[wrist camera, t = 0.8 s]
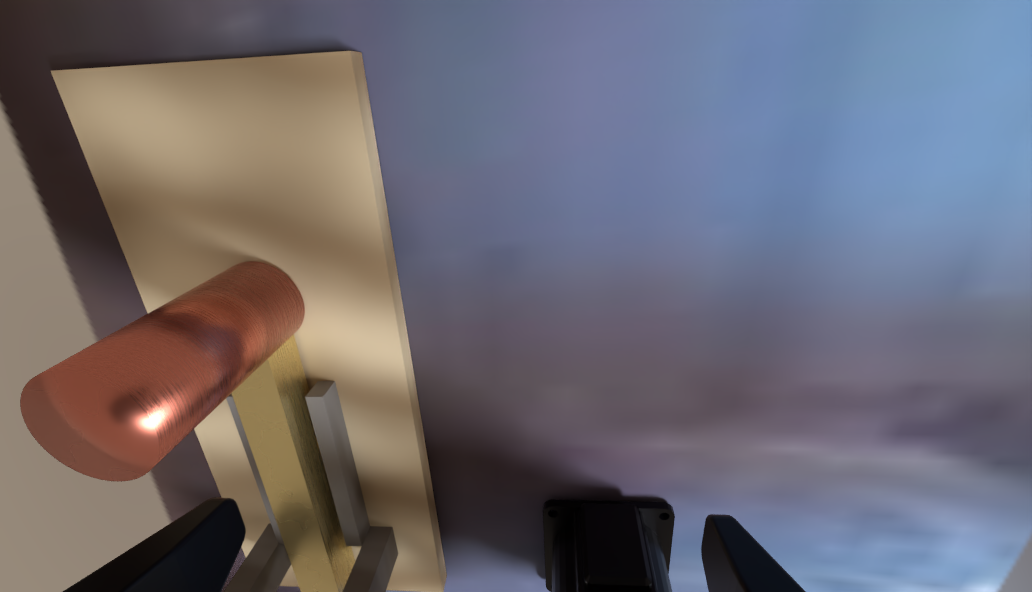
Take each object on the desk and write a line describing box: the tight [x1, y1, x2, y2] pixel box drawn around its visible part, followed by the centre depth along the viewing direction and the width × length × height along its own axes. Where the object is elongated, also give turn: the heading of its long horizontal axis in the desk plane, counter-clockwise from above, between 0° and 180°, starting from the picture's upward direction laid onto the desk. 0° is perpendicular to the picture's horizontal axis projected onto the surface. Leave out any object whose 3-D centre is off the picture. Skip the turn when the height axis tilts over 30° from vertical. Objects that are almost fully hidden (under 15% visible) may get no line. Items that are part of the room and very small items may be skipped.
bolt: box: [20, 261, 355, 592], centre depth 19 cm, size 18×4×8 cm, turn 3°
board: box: [51, 51, 447, 592], centre depth 19 cm, size 27×11×7 cm, turn 3°
